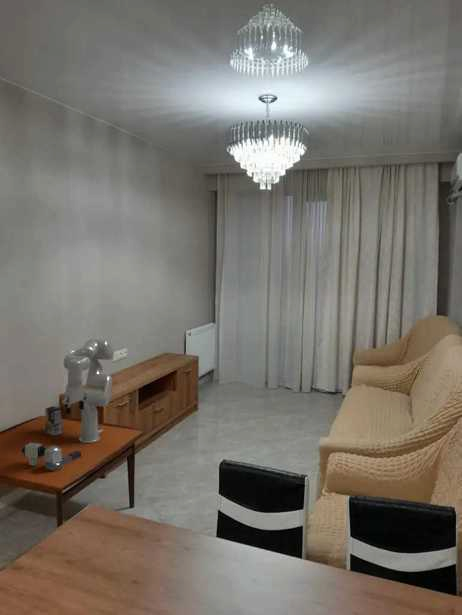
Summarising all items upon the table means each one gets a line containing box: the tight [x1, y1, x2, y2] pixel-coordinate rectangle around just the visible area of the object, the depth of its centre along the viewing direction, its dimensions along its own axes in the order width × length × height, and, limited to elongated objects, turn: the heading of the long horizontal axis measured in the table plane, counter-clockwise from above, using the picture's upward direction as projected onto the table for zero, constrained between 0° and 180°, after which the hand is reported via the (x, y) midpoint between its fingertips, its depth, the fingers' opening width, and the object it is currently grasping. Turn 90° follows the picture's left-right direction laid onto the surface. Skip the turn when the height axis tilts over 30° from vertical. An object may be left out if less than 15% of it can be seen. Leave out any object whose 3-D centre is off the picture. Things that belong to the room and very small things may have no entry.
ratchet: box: [44, 450, 82, 473], centre depth 257 cm, size 22×9×7 cm, turn 152°
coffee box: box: [45, 405, 63, 436], centre depth 297 cm, size 9×6×16 cm
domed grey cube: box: [44, 445, 63, 466], centre depth 250 cm, size 6×6×8 cm
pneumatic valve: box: [21, 442, 47, 466], centre depth 254 cm, size 6×12×12 cm, turn 78°
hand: (74, 411), depth 259 cm, fingers open, 9 cm apart
